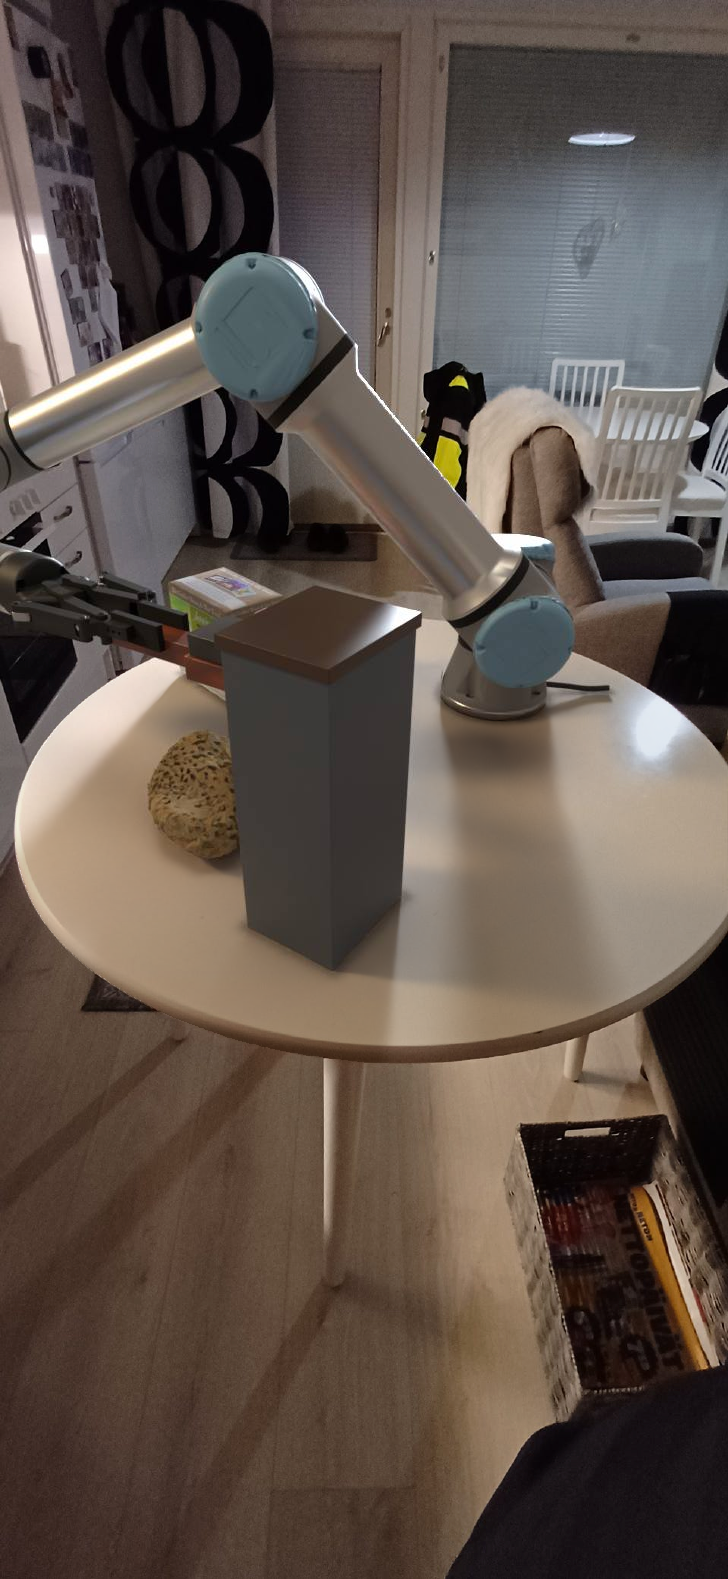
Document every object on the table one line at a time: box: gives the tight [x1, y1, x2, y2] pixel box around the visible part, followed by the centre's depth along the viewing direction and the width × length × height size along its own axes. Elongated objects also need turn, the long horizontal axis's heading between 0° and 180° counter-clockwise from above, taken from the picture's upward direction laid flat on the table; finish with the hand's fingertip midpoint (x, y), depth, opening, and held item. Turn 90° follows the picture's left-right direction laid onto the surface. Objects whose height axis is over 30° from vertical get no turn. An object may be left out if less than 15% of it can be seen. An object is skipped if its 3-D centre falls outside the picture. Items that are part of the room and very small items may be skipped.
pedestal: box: [214, 585, 423, 972], centre depth 68 cm, size 11×13×30 cm
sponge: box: [146, 730, 240, 859], centre depth 87 cm, size 13×8×20 cm
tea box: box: [167, 566, 284, 702], centre depth 113 cm, size 15×10×15 cm, turn 42°
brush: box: [108, 614, 243, 691], centre depth 77 cm, size 22×6×5 cm, turn 56°
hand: (173, 632), depth 77 cm, fingers closed on brush, 3 cm apart
